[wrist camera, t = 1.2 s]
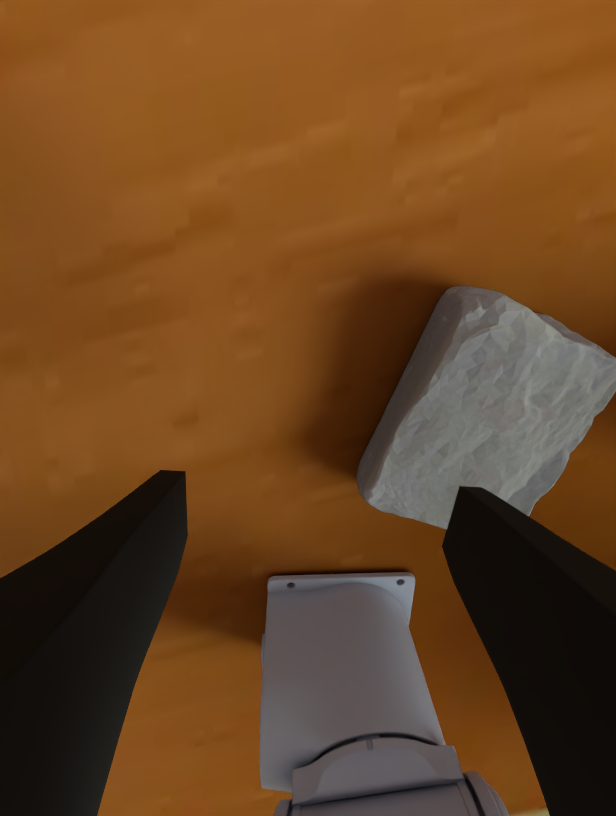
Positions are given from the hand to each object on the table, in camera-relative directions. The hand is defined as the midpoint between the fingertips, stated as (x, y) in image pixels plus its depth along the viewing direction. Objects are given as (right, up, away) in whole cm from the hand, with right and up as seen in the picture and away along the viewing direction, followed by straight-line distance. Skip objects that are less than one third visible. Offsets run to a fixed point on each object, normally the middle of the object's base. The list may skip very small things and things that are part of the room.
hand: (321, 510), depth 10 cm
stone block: (+9, +2, +11) cm, 14 cm away
